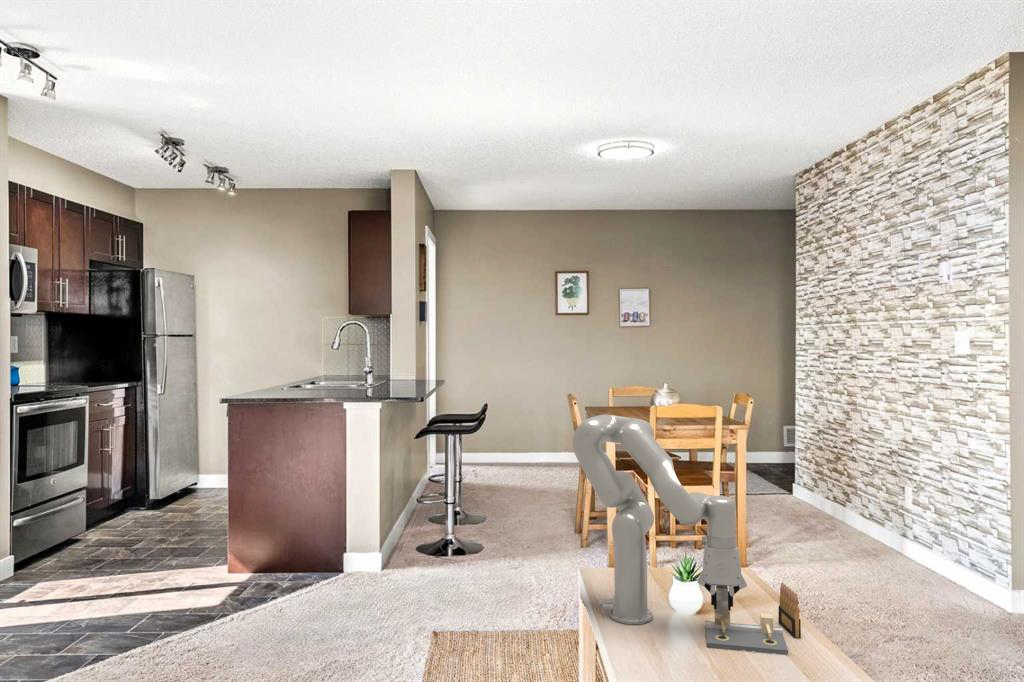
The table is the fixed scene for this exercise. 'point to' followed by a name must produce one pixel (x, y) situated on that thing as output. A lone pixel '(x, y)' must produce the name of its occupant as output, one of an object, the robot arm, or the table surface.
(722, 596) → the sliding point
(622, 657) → the table surface
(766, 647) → the hole plate
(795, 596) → the ammunition clip
